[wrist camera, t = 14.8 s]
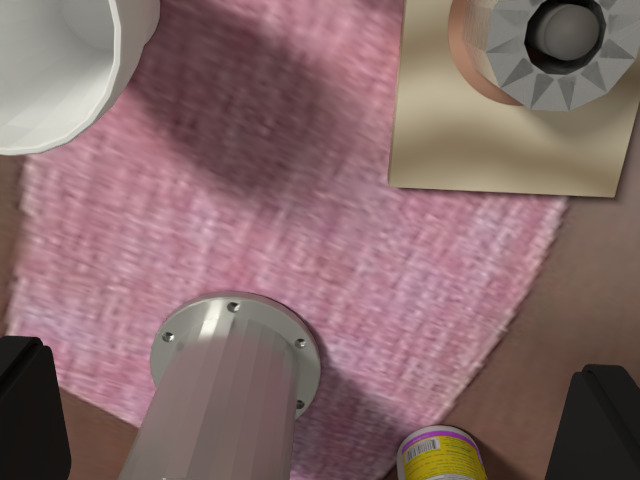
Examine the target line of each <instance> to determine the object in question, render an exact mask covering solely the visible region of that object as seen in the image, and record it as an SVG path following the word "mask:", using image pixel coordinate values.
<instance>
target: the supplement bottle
mask: <svg viewBox="0 0 640 480" xmlns="http://www.w3.org/2000/svg"><path fill="white" fill-rule="evenodd" d="M396 462H397V473H398V480H488V479H487V476H486V473H485V469H484V466H483V463H482V459H481V456H480V453H479V450H478V448H477V445H476V444H475V442H474V441H473V439H472V438H471V437H470V436H469V435H468V434H466V433H465V432H463V431H462V430H460V429H457V428H455V427H451V426H443V425H436V426H428V427H424V428H421V429H419V430H417V431H415V432H413V433H412V434H410V435H409V436H408V437H407V438H406V439H405V440H404V441H403V442H402V444H401V445H400V447H399V449H398V452H397V459H396Z"/></svg>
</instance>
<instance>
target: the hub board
mask: <svg viewBox="0 0 640 480" xmlns="http://www.w3.org/2000/svg"><path fill="white" fill-rule="evenodd" d="M466 2H467V0H404V4H403V15H402V26H401V37H400V48H399V59H398V70H397V81H396V92H395V103H394V113H393V124H392V135H391V146H390V157H389V168H388V184H389V187H401V188H423V189H444V190H466V191H487V192H508V193H530V194H551V195H573V196H594V197H615V193H616V189H617V185H618V181H619V178H620V174H621V170H622V166H623V162H624V159H625V155H626V151H627V147H628V143H629V140H630V136H631V132H632V128H633V124H634V121H635V117H636V113H637V109H638V106H639V102H640V45H639V49H638V53H637V57H636V60H635V61H634V62H633V63H632V64H631V66H630V67H629V68H628V69H627V70H626V72H625V73H624V74H623V75H622V76H621V78H620V79H619V80H618V81H617V82H616V83H615V85H614V86H613V87H612V88H611V89H610V91H609V92H608V93H607V94H605V95H603V96H601V97H598V98H596V99H594V100H592V101H590V102H588V103H586V104H584V105H581V106H579V107H577V108H575V109H573V110H571V111H550V110H530V109H529V108H527V107H526V106H524V105H523V104H521V103H520V102H519V101H517V100H516V99H514V98H513V97H511V96H510V95H509V94H507V93H506V92H504V91H503V90H501V89H500V88H498V87H497V86H496V85H495V84H493V83H492V82H491V81H489V80H488V79H487V78H485V77H484V76H483V75H481V74H480V73H479V72H477V71H476V70H475V69H474V68H473V65H472V63H471V60H470V58H469V55H468V53H467V51H466V48H465V46H464V43H463V41H462V38H461V37H462V30H463V22H464V15H465V7H466ZM598 35H599V24H598V21H597V18H596V16H595V15H594V14H593V13H592V12H591V11H590V10H589V9H587V8H585V7H583V6H578V5H572V4H566V3H560V2H557V0H546V1H544V2H542V3H541V4H540V6H539V7H538V8H537V10H536V11H535V12H534V14H533V15H532V17H531V18H530V19H529V21H528V23H527V29H526V34H525V40H524V46H525V48H526V51H527V54H528V56H529V57H532V56H534V55H536V54H538V53H540V52H543V53H546V54H548V55H550V56H553V57H555V58H558V59H561V60H574V59H578V58H580V57H582V56H584V55H585V54H587V53H588V52H589V51H590V50H591V49H592V48H593V46H594V45H595V43H596V41H597V39H598Z"/></svg>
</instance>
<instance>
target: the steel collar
mask: <svg viewBox="0 0 640 480" xmlns="http://www.w3.org/2000/svg"><path fill="white" fill-rule="evenodd" d="M544 1H546V0H467V2H466V7H465V15H464V22H463V30H462V37H461V38H462V41H463V43H464V46H465V48H466V51H467V53H468V55H469V58H470V60H471V63H472V65H473V68H474V69H475V70H476V71H477V72H479V73H480V74H481V75H483V76H484V77H485V78H487V79H488V80H489V81H491V82H492V83H493V84H495V85H496V86H497V87H498V88H500V89H501V90H503V91H504V92H506V93H507V94H509V95H510V96H511V97H513V98H514V99H516V100H517V101H519V102H520V103H521V104H523V105H524V106H526V107H527V108H529V109H530V110H550V111H571V110H573V109H575V108H577V107H579V106H581V105H584V104H586V103H588V102H590V101H592V100H594V99H596V98H598V97H601V96H603V95H605V94H607V93H608V92H609V91H610V89H611V88H612V87H613V86H614V85H615V83H616V82H617V81H618V80H619V79H620V78H621V76H622V75H623V74H624V73H625V72H626V70H627V69H628V68H629V67H630V66H631V64H632V63H633V62H634V61H635V60H636V57H637V53H638V49H639V45H640V0H557V2H560V3H566V4H572V5H578V6H583V7H585V8H587V9H589V10H590V11H591V12H592V13H593V14H594V15H595V16H596V18H597V21H598V24H599V35H598V39H597V41H596V43H595V45H594V46H593V48H592V49H591V50H590V51H589V52H588V53H587V54H585V55H584V56H582V57H580V58H578V59H574V60H561V59H558V58H555V57H553V56H550V55H548V54H546V53H543V52H540V53H538V54H536V55H534V56H532V57H529V56H528V54H527V51H526V48H525V46H524V40H525V34H526V29H527V23H528V21H529V19H530V18H531V17H532V15H533V14H534V12H535V11H536V10H537V8H538V7H539V6H540V4H541V3H542V2H544Z"/></svg>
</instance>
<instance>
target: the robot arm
mask: <svg viewBox="0 0 640 480" xmlns="http://www.w3.org/2000/svg"><path fill="white" fill-rule="evenodd" d="M233 302H235V303H236V304H235V303H233ZM150 368H151V375H152V378H153V381H154V384H155V387H156V388H157V389H156V392H155V394H154V396H153V399H152V401H151V403H150V406H149V408H148V410H147V413H146V415H145V417H144V420H143V422H142V424H141V427H140V429H139V431H138V434H137V436H136V438H135V441H134V443H133V445H132V448H131V450H130V452H129V455H128V457H127V459H126V462H125V464H124V466H123V469H122V471H121V473H120V476H119V478H118V480H290V471H291V460H292V449H293V439H294V428H295V420H296V419H297V418H298V417H300V416H301V415H302V414H303V413H304V412H305V411H306V410H307V408H308V407H309V406H310V404H311V403H312V401H313V400H314V397H315V395H316V393H317V390H318V388H319V382H320V376H321V360H320V355H319V349H318V347H317V344H316V342H315V340H314V337H313V335H312V334H311V332H310V331H309V329H308V328H307V327H306V325H305V324H304V323H303V322H302V321H301V320H300V319H299V318H298V317H297V316H296V315H295V314H294V313H293V312H291V311H290V310H288V309H287V308H285V307H284V306H282V305H281V304H279V303H277V302H275V301H273V300H270V299H268V298H266V297H263V296H259V295H255V294H252V293H247V292H236V291H225V292H213V293H210V294H206V295H202V296H198V297H196V298H194V299H192V300H190V301H187V302H185V303H184V304H182V305H181V306H180V307H178V308H177V309H175V310H174V311H173V312H172V313H171V314H170V315H169V316H168V317H167V318H166V320H165V321H164V322H163V323H162V325H161V327H160V329H159V331H158V333H157V334H156V337H155V339H154V342H153V344H152V347H151V354H150ZM70 469H71V454H70V448H69V443H68V437H67V432H66V426H65V421H64V415H63V409H62V404H61V398H60V393H59V387H58V382H57V376H56V370H55V365H54V359H53V354H52V350H51V348H50V347H49V346H43V343H42V341H41V340H40V338H38V337H25V336H3V337H2V338H1V339H0V480H67V479H68V477H69V473H70ZM545 480H640V389H639V388H638V386H637V385H636V384H635V382H634V381H633V379H632V378H631V377H630V375H629V374H628V372H627V371H626V370H625V369H624V368H623V367H622V366H617V365H597V364H588V365H586V366H585V367H584V368H583V370H582V372H575V373H574V374H573V377H572V379H571V383H570V387H569V390H568V394H567V398H566V402H565V405H564V409H563V413H562V417H561V420H560V424H559V428H558V432H557V435H556V439H555V443H554V446H553V450H552V454H551V458H550V461H549V465H548V469H547V473H546V476H545Z"/></svg>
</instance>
